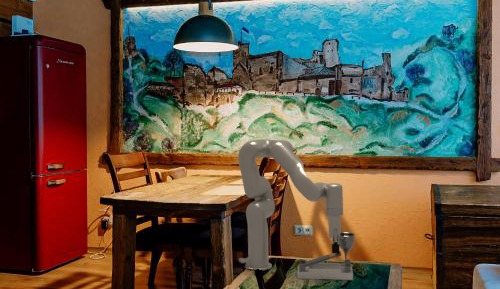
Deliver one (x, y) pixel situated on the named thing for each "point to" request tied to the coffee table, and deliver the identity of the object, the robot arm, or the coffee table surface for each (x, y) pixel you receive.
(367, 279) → the coffee table surface
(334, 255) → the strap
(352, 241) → the wine glass
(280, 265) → the coffee table surface
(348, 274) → the grey flat base
